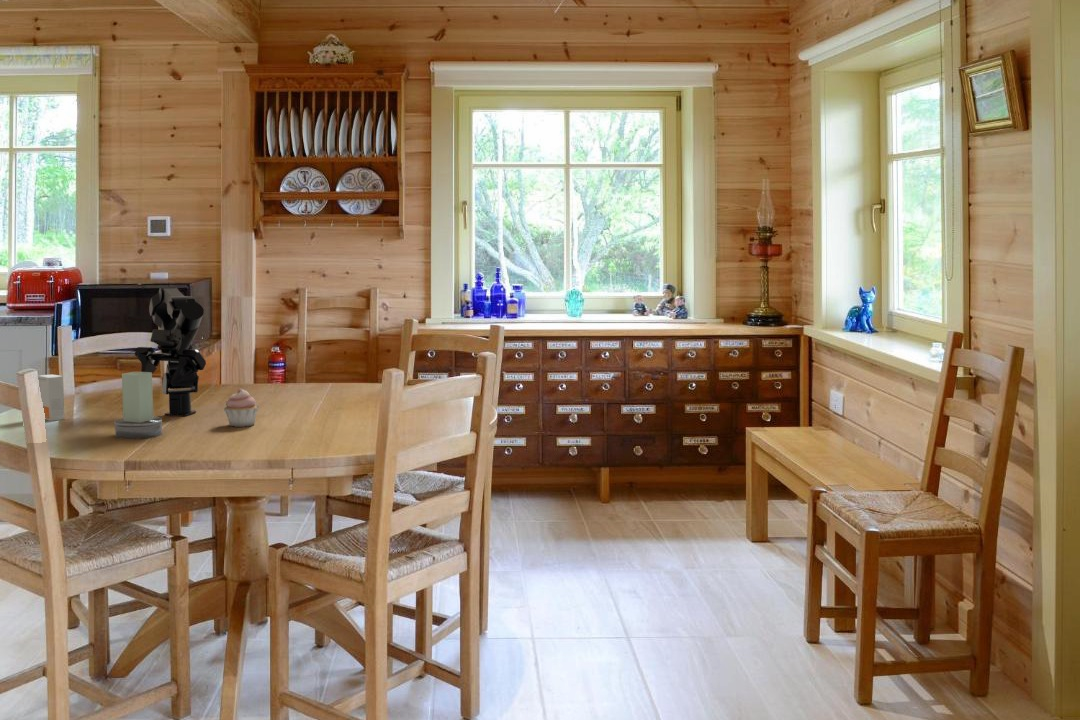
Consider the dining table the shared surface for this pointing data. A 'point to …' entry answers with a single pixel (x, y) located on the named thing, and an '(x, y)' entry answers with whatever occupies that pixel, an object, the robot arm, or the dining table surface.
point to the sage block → (137, 396)
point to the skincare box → (52, 396)
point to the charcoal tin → (138, 429)
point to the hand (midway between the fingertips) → (156, 383)
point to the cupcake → (241, 409)
